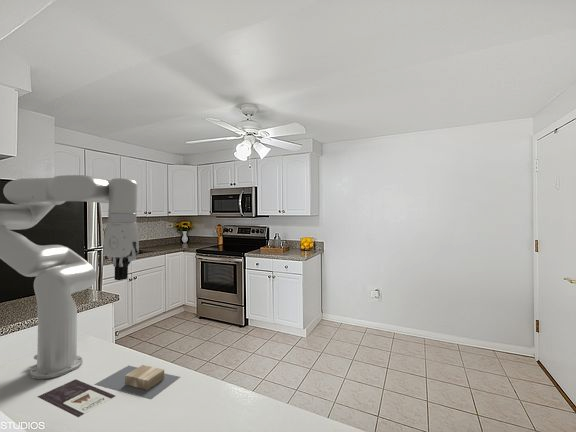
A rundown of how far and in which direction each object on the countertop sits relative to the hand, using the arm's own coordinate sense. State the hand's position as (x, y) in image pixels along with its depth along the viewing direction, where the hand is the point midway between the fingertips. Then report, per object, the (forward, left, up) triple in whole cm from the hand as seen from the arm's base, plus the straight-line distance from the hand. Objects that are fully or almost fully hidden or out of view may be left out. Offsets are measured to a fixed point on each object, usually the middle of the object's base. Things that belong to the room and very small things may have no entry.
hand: (121, 279), depth 88 cm
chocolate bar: (+1, -14, -29) cm, 32 cm away
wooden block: (+8, -3, -26) cm, 27 cm away
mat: (+10, -3, -28) cm, 30 cm away
